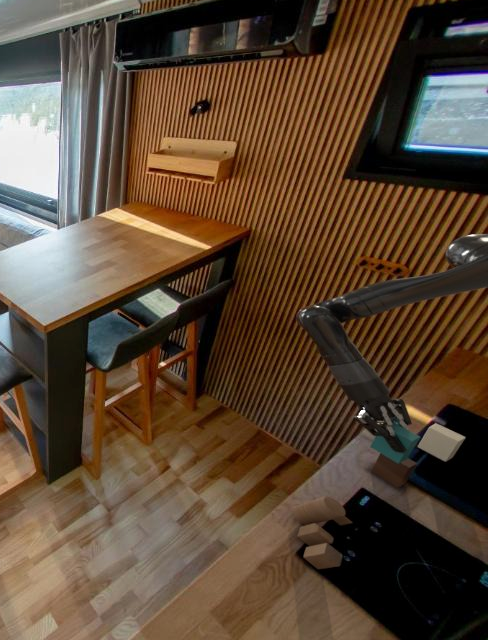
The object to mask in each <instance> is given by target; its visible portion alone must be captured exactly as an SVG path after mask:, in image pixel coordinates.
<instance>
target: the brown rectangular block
mask: <svg viewBox="0 0 488 640" xmlns="http://www.w3.org/2000/svg"><path fill="white" fill-rule="evenodd" d="M417 465H418V462H416V461H414V460H412V459H411V458H409V457H408V458H407V459H406V460H405V461H403V462H401V463H399V464H398V463H396V462H395V461H393V460H391V459H390V458H388V457H386V456H385V455H383V454H381V453H380V452H379V455H378V457H377V459H376V461H374V464H373V466H372V468H371V470H370V472H371V473H373V474H375V475H376V476H378V477H379V478H381V479H382V480H384V481H386V482H388V483H389V484H390V485H392V486H394V487H395V488H397V489H398V488H400V487H402V486H404V485H405V484H406V483H407V482H408V480H409V478H410V477H411V475H412V473H413V472H414V470H415V468H416V467H417Z"/></svg>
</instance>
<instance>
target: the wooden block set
mask: <svg viewBox="0 0 488 640" xmlns="http://www.w3.org/2000/svg"><path fill="white" fill-rule="evenodd" d="M291 513H292V515H293V517H294V518H295V519H296V520H297V521H298V522H299V523H301V524H302V526H300V527H299V530H298V532H297V537H298V539H300V540H301V541H302V542H303V543H305V544H306V545H307V546H306V547H305V550H304V553H303V559H304V560H305V561H307V562H308V563H309V564H310V565H311V566H313V567H314V568H315V569H317V570H323V569H331V568H335V567H336V568H337V567H341V565H342V561H343V554H342V553H341V552H339V551H338V550H337V549H336V548H334V546H332V544H333V542H334V537H333V535H331V534H330V533H329V532H328V531H327V530H325V529H324V528H323V527H321V526H320V525H319V524H320V523H323V522H328V521H334V522H335V523H337V525H339V526H345V525H350V524H353V521H351V520H350V519H349V518H348V517H346V510H345V508H344V507H343V505H342V504H341V503H340V502H339V501H338V500H336V499H335V498H334V497H331V496H322V497H319V498H316V499H313V500H310V501H307V502H303V503H301V504H297V505H294V506H292V507H291Z"/></svg>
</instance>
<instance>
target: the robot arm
mask: <svg viewBox="0 0 488 640" xmlns="http://www.w3.org/2000/svg"><path fill="white" fill-rule="evenodd" d="M444 253H445V260H446V262H447V263H448V264H449V266H450V267H452V268H450V269H447V270H444V271H440V272H436V273H431V274H427V275H420V276H413V277H404V278H395V279H388V280H382V281H377V282H375V283H370V284H368V285H365V286H362V287H359V288H356V289H353V290H351V291H348V292H346V293H344V294H341V295H339V296H337V297H333V298H330V299H327V300H323V301H320V302H316V303H313V304H310V305H307V306H304V307H302V308H300V309H299V310H298V311H297V312H296V314H295V315H296V316H295V321H296V323H297V324H298V326H300V327H301V328H302V329H303V330H305V332H306V333H307V335H308V336H309V337H310V339H311V340H312V342H314V344H315V345H316V351H318V354H319V355H320V357H321V358H322V359H323V361H324V362H325V364H326V366H327V367H328V369H329V371H330V373H331V375H332V377H333V378H334V379H335V381H336V382H337V384H338V385H339V387H340V389H342V392H343V393H344V394H345V395H346V397H347V399H348V400H350V401H352V402H354V403H356V405H357V408H358V410H359V413H358V414H355V415H353V420H355V421H356V422H357V423H358V424H360V426H362V427H363V428H364V429H365V430H366V431H367V432H368V433H370V434H371V435H372V436H374V437H376V436H382V437H384V439H385V440H386V442H387V443H388V444H389V446H390V447H391V449H392V450H394V451H395V452H402V453H404V452H406V451H407V450H406V448H405V447H404V445H403V444H402V442H401V441H400V440H399V438H398V437H397V436H396V434H395V432H394V430H393V429H392V427H391V426H392V425H393V424H392V422H393V423H395V424H397V425H399V426H401V427H403V428H405V429H407V430H409V426H411V425H413V423H412V422H413V421H412V419H411V416H410V414H409V411H408V409H407V407H406V406H407V405H406V403H405V401H404V399H402V398H391V397H390V396H389V395H390V394H391V391H390V389H389V388H388V387H387V385H386V383H385V382H384V381H383V379H382V377H380V375H379V374H378V372H377V371H376V370H375V368H374V367H373V365H372V364H370V363H369V362H368V360H367V359H366V358H365V357H364V356H363V354H362V352H360V350H359V348H358V347H357V345H356V344H355V343H354V342H353V341H352V340H351V338H350V336H349V335H348V333H347V331H346V329H345V328H344V326H343V324H344V323H346V322H351V321H353V320H362V319H366V318H370V317H372V316H377V315H379V314H382V313H385V312H388V311H391V310H394V309H399V308H400V307H404V306H408V305H411V304H415V303H420V302H424V301H429V300H433V299H437V298H441V297H442V298H443V297H447V296H452V295H458V294H461V293H467V292H472V291H475V290H476V291H477V290H482V289H486V288H488V233H475V234H468V235H464V236H461V237H459V238H457V239H454V240H453V241H451V242H450V243H449V244H448V245H447V248H446V250H445V252H444ZM391 421H392V422H391ZM381 426H384V427H385V428H386V430H387V431H385V430H384V429H383V428H382V427H381ZM416 447H418V443H417V444H416V445H415V447H414V448H416Z"/></svg>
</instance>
